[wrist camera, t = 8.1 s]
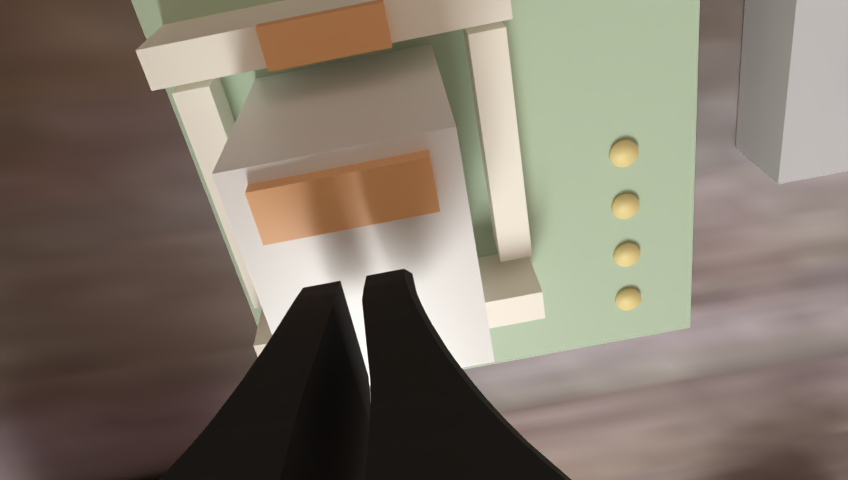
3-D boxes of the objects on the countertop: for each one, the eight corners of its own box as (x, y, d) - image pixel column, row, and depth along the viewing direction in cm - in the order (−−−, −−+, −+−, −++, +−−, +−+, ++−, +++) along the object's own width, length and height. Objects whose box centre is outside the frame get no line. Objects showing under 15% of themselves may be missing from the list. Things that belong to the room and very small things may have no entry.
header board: (676, 307, 21) (724, 380, 18) (289, 378, 21) (278, 461, 18) (683, -138, 15) (758, -131, 12) (138, -26, 15) (86, 6, 12)
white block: (464, 233, 18) (497, 372, 13) (313, 262, 18) (294, 409, 13) (431, 43, 15) (458, 133, 11) (255, 78, 15) (207, 182, 11)
